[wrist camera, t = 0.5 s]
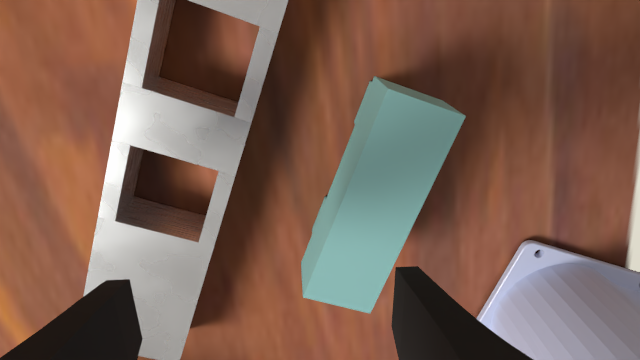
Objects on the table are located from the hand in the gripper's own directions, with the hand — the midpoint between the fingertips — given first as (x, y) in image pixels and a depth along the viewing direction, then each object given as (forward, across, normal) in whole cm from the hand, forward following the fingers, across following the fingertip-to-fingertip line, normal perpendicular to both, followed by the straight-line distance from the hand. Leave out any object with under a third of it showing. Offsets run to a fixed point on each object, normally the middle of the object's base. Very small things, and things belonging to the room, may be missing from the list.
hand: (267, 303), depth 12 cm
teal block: (+10, -4, 0) cm, 11 cm away
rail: (+10, +4, -3) cm, 11 cm away
